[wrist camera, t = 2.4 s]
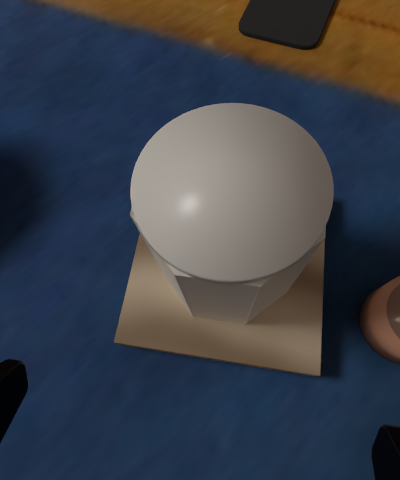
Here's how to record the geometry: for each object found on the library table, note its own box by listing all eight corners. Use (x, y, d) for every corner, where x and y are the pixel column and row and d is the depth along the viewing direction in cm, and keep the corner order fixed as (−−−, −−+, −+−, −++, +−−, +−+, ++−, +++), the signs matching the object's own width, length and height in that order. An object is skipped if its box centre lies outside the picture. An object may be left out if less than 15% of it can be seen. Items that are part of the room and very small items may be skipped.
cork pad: (313, 376, 21) (320, 375, 20) (120, 344, 23) (114, 342, 21) (320, 199, 26) (326, 188, 24) (158, 181, 27) (154, 170, 26)
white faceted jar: (293, 213, 24) (335, 111, 15) (284, 332, 21) (331, 294, 12) (178, 199, 25) (152, 96, 16) (155, 312, 22) (108, 264, 13)
